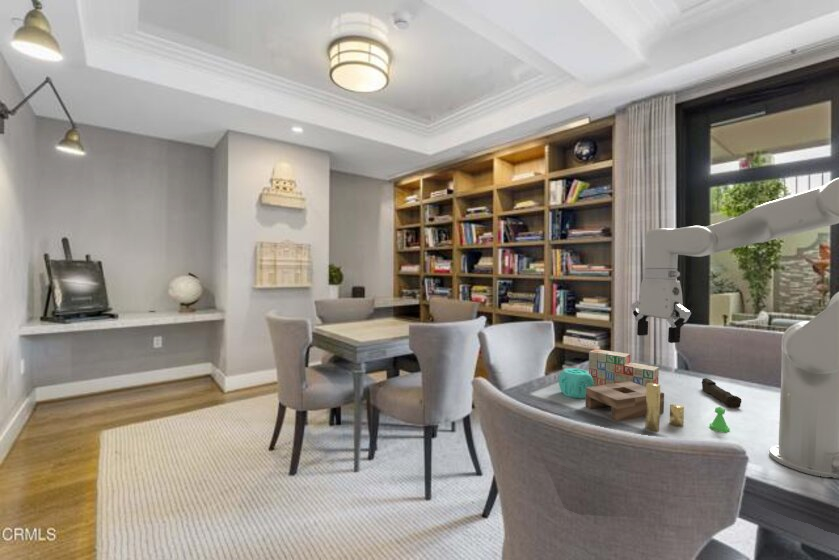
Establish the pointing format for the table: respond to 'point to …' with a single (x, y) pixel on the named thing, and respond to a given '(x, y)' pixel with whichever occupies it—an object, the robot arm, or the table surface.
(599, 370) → the stack of blocks
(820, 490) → the table surface
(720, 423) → the game piece
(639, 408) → the bridge board
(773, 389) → the table surface
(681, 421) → the short pin
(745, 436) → the table surface
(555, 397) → the table surface
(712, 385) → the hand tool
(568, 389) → the decorative dice
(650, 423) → the tall pin
